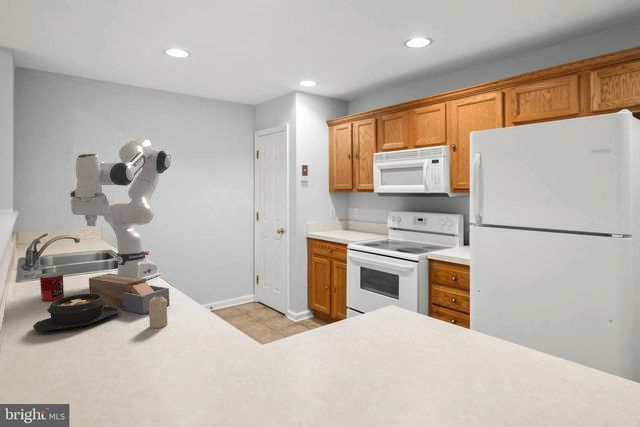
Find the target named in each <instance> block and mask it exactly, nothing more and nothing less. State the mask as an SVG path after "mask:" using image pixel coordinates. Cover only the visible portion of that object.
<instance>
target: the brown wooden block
mask: <svg viewBox="0 0 640 427" xmlns="http://www.w3.org/2000/svg"><path fill="white" fill-rule="evenodd" d="M145 282H146V283H147V280H146V279H144V278H137V277H130V276H124V275H117V274H116V273H106V274H102V275H101V274H100V275H97V276H94V277H93V276H92V277H88V286H89V290H88V291H89V294H99V295H101V296H102V297H103V299H104V300H105V301H106V302H105V304H104V306H108V307H114V308H116V309H123V293H124V292H127V291H130V290H131V288H132V286H134V285H138V284H141V283H145ZM123 310H124V309H123Z"/></svg>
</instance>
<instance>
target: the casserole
mask: <svg viewBox="0 0 640 427" xmlns="http://www.w3.org/2000/svg"><path fill="white" fill-rule="evenodd" d="M105 302H106V301H105V300H104V299H103V297H102V296H101V295H99V294H90V293H80V294H79V293H78V294H73V295H67V296H64V298H60V299H57V300H55V301H53V302H50V305H49V307H48V308H47V310H46V311H47V313H49V315H50V317H49V318H45V319H43V320H39V321H37V322H35V323H34V324H33V326H32V328H33V329H34V330H36V331H43V332H46V331H47V332H49V331H55V330H62V329H67V330H69V329H70V330H71V329H78V328H83V327H87V326H90V325H92V324H94V323H96V322H99V321H101V320H103V319H106V318H109V317H111V316H114V315H116V314H118V313H119V308H117V307H112V306H107V305H104V304H105Z"/></svg>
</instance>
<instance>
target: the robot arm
mask: <svg viewBox="0 0 640 427" xmlns="http://www.w3.org/2000/svg"><path fill="white" fill-rule="evenodd" d="M118 156H119V159H120V160H121V162H105V161H102V160H101V159H100V158H99V155H98V154H96V153H86V154H85V153H83V154H80V155H78V156H77V157H76V160H75V176H76V179H77V181H76V188H75V189H74V190H73V191H71V192H69V197H70V198H71V200H70V204H71V205H70V206H71V207H70V208H71V212H72V215H76V216H84V220H85V221H86V226H87V227H96V225H97V224H96V222H97V219H98V216H99V217H102V216H103V219H104V221H105V222H106V223H107V224H109V226H110V227H111V228H112V230H113V232H114V234H115V237H116V243H117V244H116V245H117V253H116V260H117V275H124V276H130V277H137V278H144V279H146V281H149V280H151V279H154V278H157V277H161V276H163V272H161V271H158V267H157V264H156V263H155V262H153V261H152V260H150V259H149V258H147V257H146V256H149V255H150V251H149V250H148V251H144V250H143V243H142V242H143V239H142V235H141V234H140V233H138V232H137V231H136V230H135V229H134V228H135V227H134V226H144V225H147V224H150V223H151V222H152V221H153V218H154V211H153V209H152V207H151V206H150V200H151V198H152V196H153V194H154V192H155V190H156V189H157V186H158V184H159V180H160V175H161V174H163V173H164V172H165V171H167V170H168V169H169V167H170V166H171V163H172V156H171V154H170V153H169V152H167V151H165V150H160V149H156V148H153V145H152V142H150V140H148V139H146V138H136V139H133V140H130V141H129V142H127V143H125V144H123V146H122V147H121V148H120V149H119V151H118ZM141 169H142V170H141ZM140 170H141V171H140ZM139 171H140V172H139ZM137 173H138V175H137ZM136 175H137V176H136ZM133 180H134V181H133ZM131 183H132V184H131ZM129 185H130V187H129V189H128V191H127V195H128V198H130V200H131V201H129V203H114V204H111V205H110V203H109V199H108V198H107V195H106V194H105V193H104V192H103V191H102V190H103V189H102V188H103V187H102V186H125V187H126V186H129ZM156 276H157V277H156Z"/></svg>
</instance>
